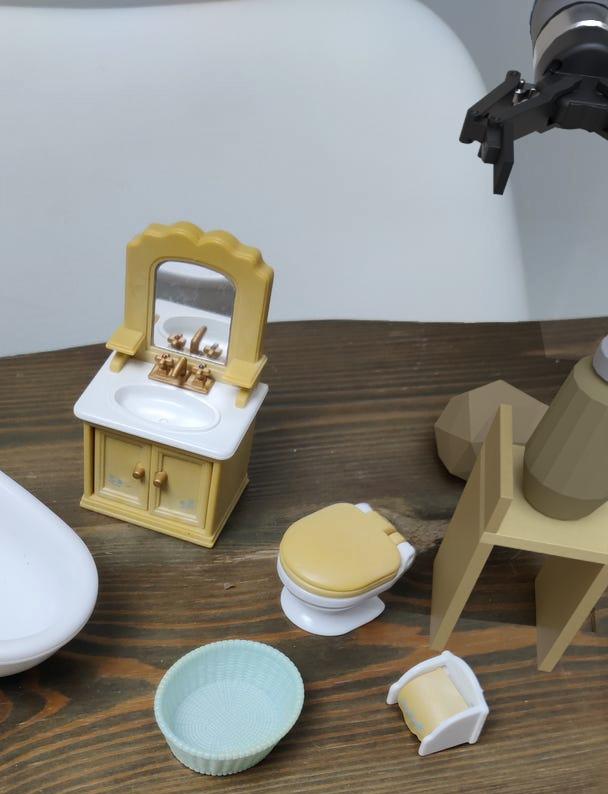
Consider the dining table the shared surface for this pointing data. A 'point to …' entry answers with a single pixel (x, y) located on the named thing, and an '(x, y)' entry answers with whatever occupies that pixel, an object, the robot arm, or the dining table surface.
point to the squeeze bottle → (572, 445)
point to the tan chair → (522, 529)
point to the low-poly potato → (482, 423)
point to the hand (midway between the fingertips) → (591, 190)
